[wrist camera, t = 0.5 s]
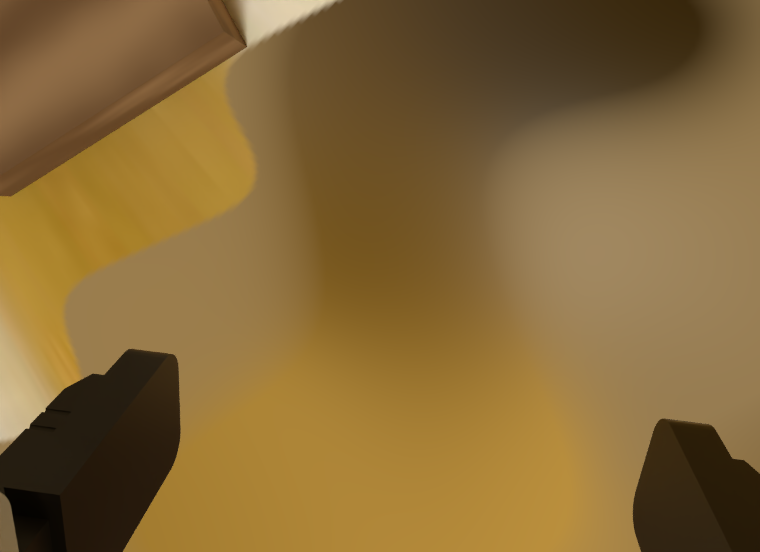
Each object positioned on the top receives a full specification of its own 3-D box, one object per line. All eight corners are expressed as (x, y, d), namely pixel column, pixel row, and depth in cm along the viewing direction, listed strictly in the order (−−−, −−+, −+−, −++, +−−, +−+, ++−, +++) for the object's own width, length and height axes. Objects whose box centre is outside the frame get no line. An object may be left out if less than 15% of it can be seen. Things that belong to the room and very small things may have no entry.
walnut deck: (-97, -8, 39) (-146, -26, 36) (129, -174, 36) (96, -209, 33) (10, 196, 39) (-30, 194, 36) (246, 47, 36) (224, 31, 33)
